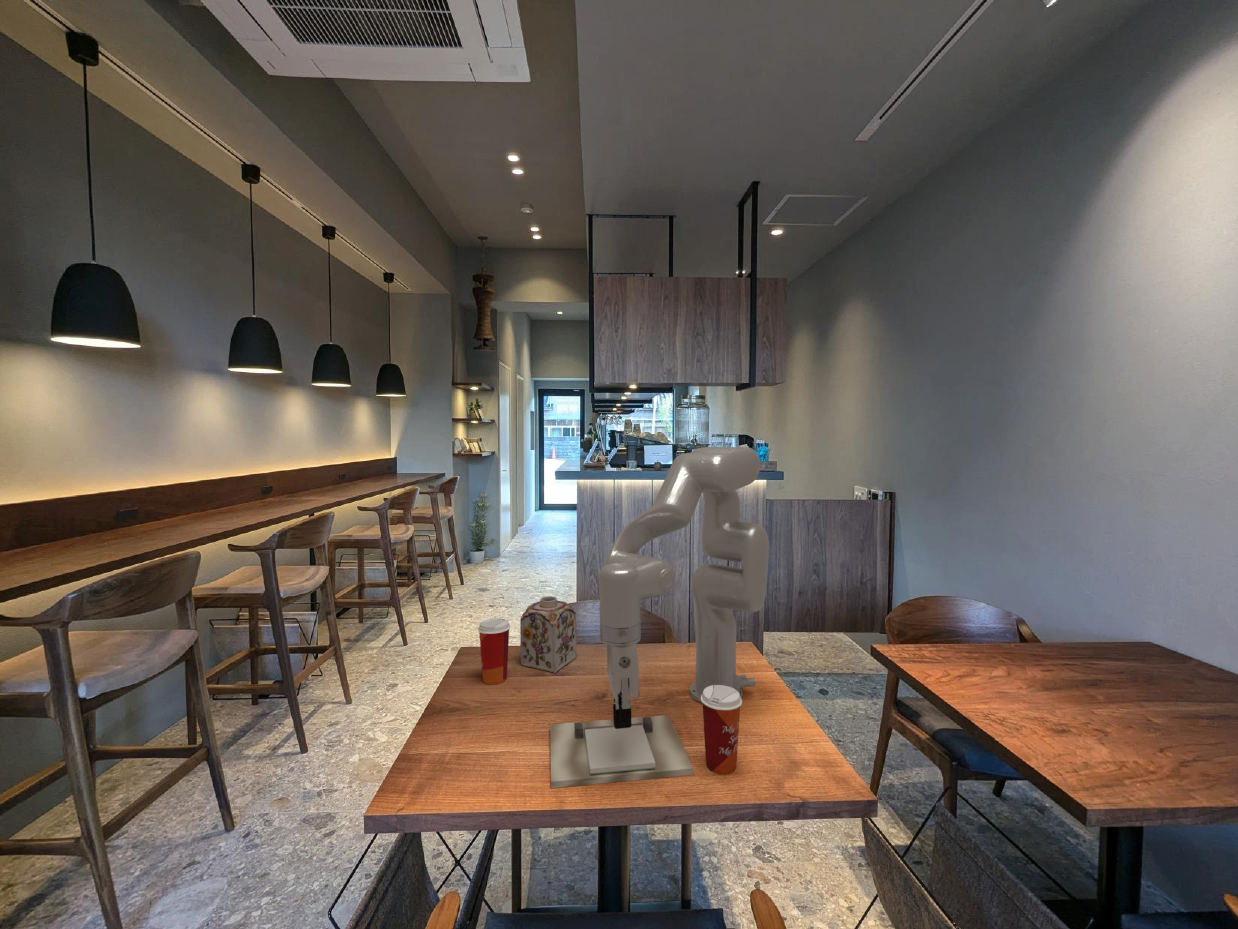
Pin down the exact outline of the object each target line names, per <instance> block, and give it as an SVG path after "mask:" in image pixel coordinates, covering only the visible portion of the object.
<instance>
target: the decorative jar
mask: <svg viewBox="0 0 1238 929" xmlns="http://www.w3.org/2000/svg"><path fill="white" fill-rule="evenodd" d="M576 613H577V612H576V610H575V609H574V607H572V606H571V605H569V603H568V602H567V601H562V600H558V598H557V597H556V596H550V595H548V596H542V597H540V599H539V601H536V602H533V603H531V604H529V605H528V606H527V608H526V609H525V611H524V612H523V613H522V616H520V621H519V622H520V630H519V631H520V635H519V636H520V638H519V639H520V646H519V647H520V665H521V666H522V665H523V666H522V667H525V666H527V667H526V668H530V667H532V668H531V669H535V668H536V670H539V669H540V671H544V670H545V672H548V671H549V673H552V672H553V673H552V674H556V673H557V672H559V671H560V670H562V669H563V668H565V667H566V666H567V665H569V664H570V663H571V662H573V661H574V660H576V659H577V656H578V655H577V651H578V650H577V644H578V643H577V642H578V640H577V614H576Z"/></svg>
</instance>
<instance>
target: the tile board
mask: <svg viewBox="0 0 1238 929" xmlns="http://www.w3.org/2000/svg"><path fill="white" fill-rule="evenodd" d="M636 723H642V725H643V728H644V731H645V734H646V737H647V740H648V743H649V746H650V749H651V751H652V754H653V757H654V760H655V768H652V769H642V770H631V771H620V772H609V773H598V774H590V770H589V762H588V755H587V747H586V740H585V733H584V728H586V727H599V726H611V725H614V722H613V719H602V720H600V719H599V720H590V721H577V722H564V723H551V724H550V725H549V735H550V736H549V739H550V740H549V743H550V745H549V746H550V751H549V752H550V789H559V788H566V787H567V788H568V787H579V786H580V787H581V786H590V785H591V786H592V785H601V784H609V783H610V784H612V783H619V782H630V781H631V782H632V781H642V780H651V779H653V780H654V779H662V778H672V777H683V776H693V775H694V766H693V765H692V762H691V760H690V758H689V756H688V754H687V751H686V749H685V746H684V745H683V742H682V740H681V738H680V736H679V734H678V731H677V729H676V727H675V725H674V722H673V721H672V719H671V715H670V714H666V715H653V716H640V717H631V724H636Z"/></svg>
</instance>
